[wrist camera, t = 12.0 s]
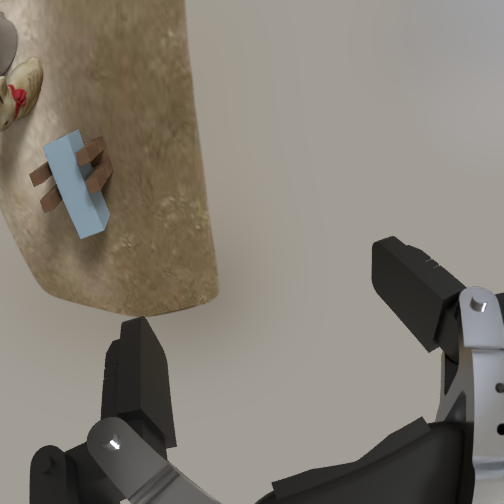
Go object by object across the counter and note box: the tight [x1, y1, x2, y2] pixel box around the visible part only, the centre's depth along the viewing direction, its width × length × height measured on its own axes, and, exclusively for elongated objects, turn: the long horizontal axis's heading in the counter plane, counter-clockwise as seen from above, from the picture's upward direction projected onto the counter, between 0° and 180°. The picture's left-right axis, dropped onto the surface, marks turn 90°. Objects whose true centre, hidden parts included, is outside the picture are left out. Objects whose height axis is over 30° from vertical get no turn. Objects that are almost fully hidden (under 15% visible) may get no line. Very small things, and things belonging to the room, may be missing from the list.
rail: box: [43, 129, 110, 239], centre depth 30 cm, size 11×3×4 cm, turn 12°
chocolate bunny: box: [0, 57, 43, 132], centre depth 22 cm, size 6×8×10 cm
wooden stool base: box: [29, 137, 113, 213], centre depth 30 cm, size 4×7×8 cm, turn 102°
